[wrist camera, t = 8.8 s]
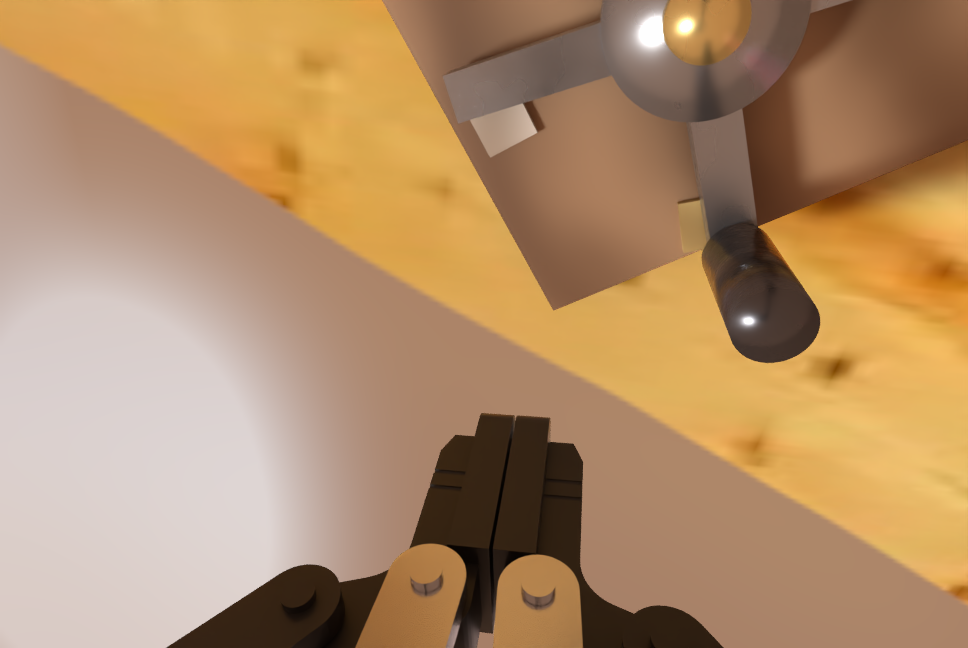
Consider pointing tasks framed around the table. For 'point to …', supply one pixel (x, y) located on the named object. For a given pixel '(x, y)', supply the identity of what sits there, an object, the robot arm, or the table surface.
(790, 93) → the stand
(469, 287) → the table surface
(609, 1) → the capstan
